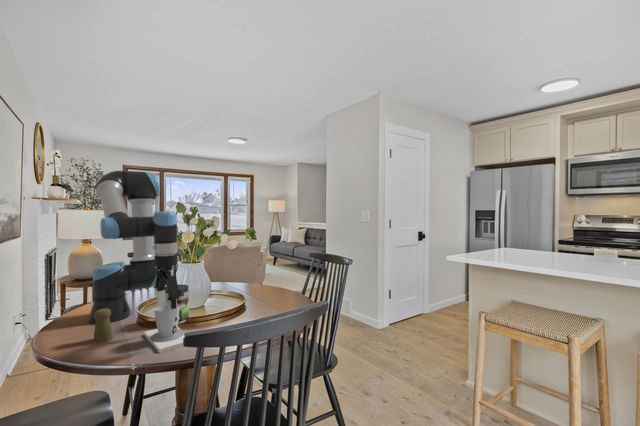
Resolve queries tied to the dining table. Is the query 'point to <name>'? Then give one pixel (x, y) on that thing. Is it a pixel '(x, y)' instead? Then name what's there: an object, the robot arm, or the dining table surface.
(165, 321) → the cup
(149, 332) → the board
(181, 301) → the coffee can
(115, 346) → the dining table surface
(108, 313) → the olive peg figure
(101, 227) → the robot arm
